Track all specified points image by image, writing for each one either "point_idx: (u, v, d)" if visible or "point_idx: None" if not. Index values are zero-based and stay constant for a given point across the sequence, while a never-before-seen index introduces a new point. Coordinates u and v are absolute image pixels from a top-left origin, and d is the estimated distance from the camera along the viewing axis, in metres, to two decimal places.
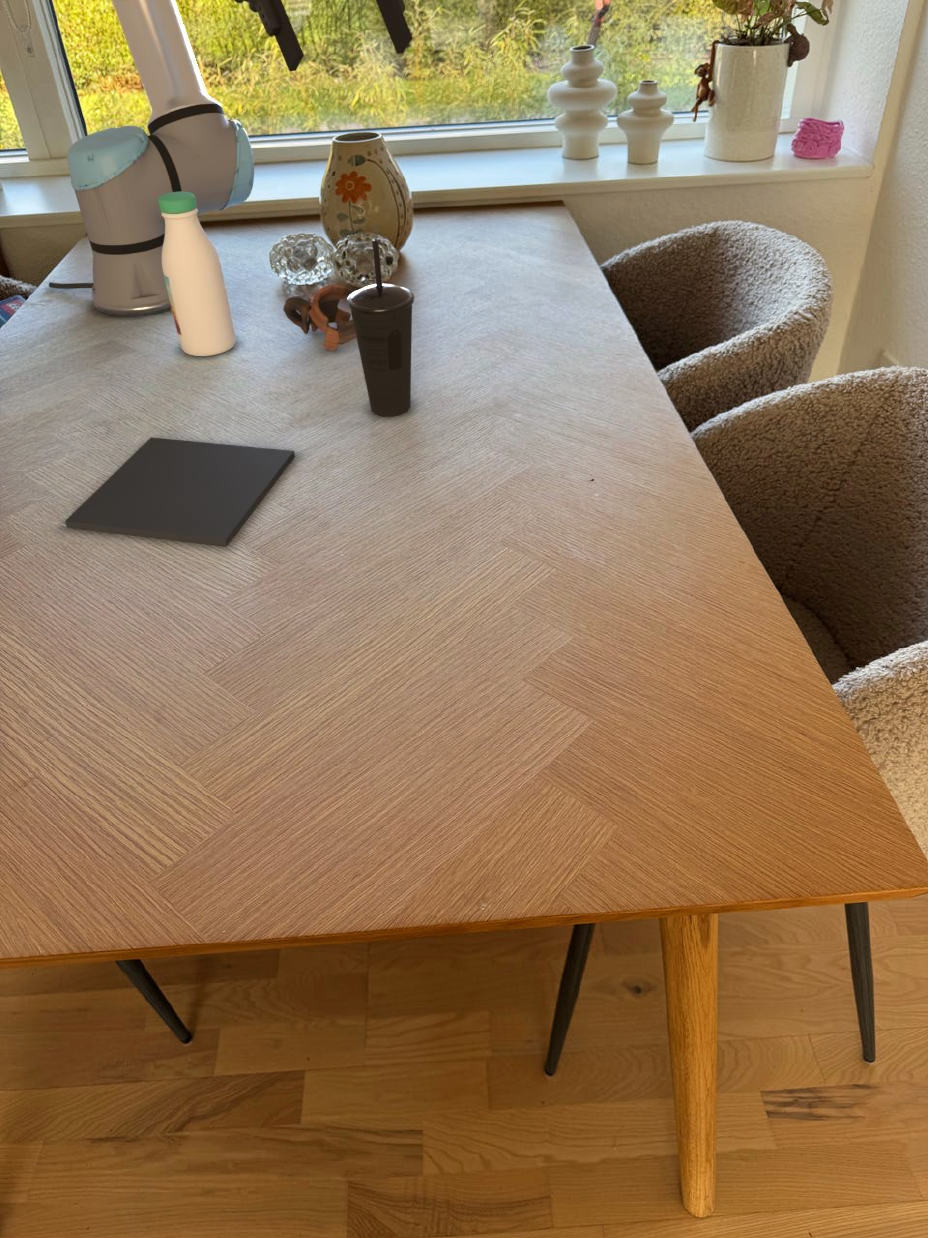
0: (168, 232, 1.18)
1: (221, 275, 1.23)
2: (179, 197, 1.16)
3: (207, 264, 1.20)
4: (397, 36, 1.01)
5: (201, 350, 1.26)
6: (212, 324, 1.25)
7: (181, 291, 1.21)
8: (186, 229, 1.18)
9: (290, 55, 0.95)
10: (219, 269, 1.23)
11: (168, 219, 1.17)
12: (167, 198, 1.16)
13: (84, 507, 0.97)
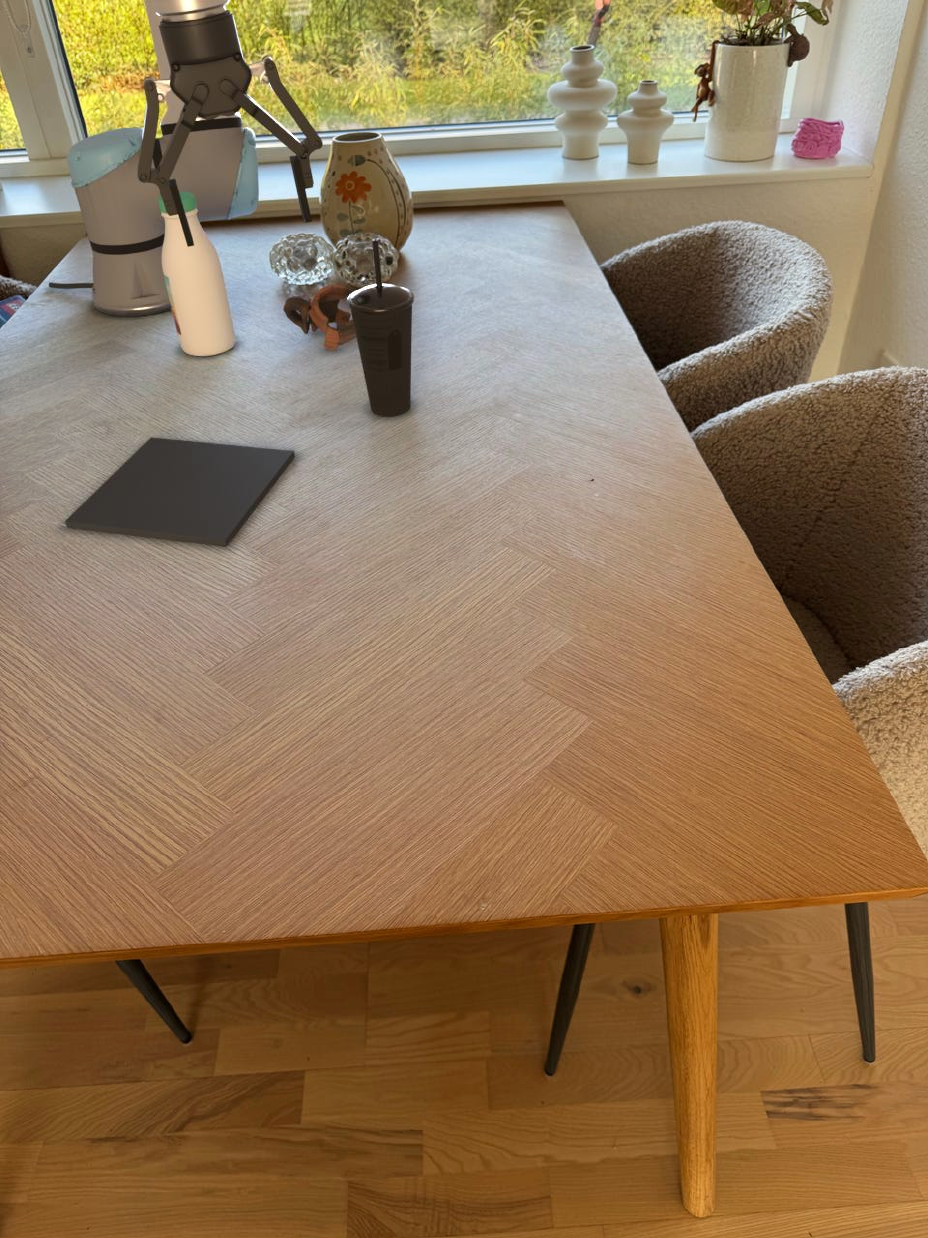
0: (167, 232, 1.18)
1: (221, 275, 1.23)
2: None
3: (207, 264, 1.20)
4: (301, 208, 1.06)
5: (201, 350, 1.26)
6: (212, 323, 1.25)
7: (181, 291, 1.21)
8: None
9: None
10: (219, 269, 1.23)
11: (168, 219, 1.17)
12: None
13: (84, 507, 0.97)
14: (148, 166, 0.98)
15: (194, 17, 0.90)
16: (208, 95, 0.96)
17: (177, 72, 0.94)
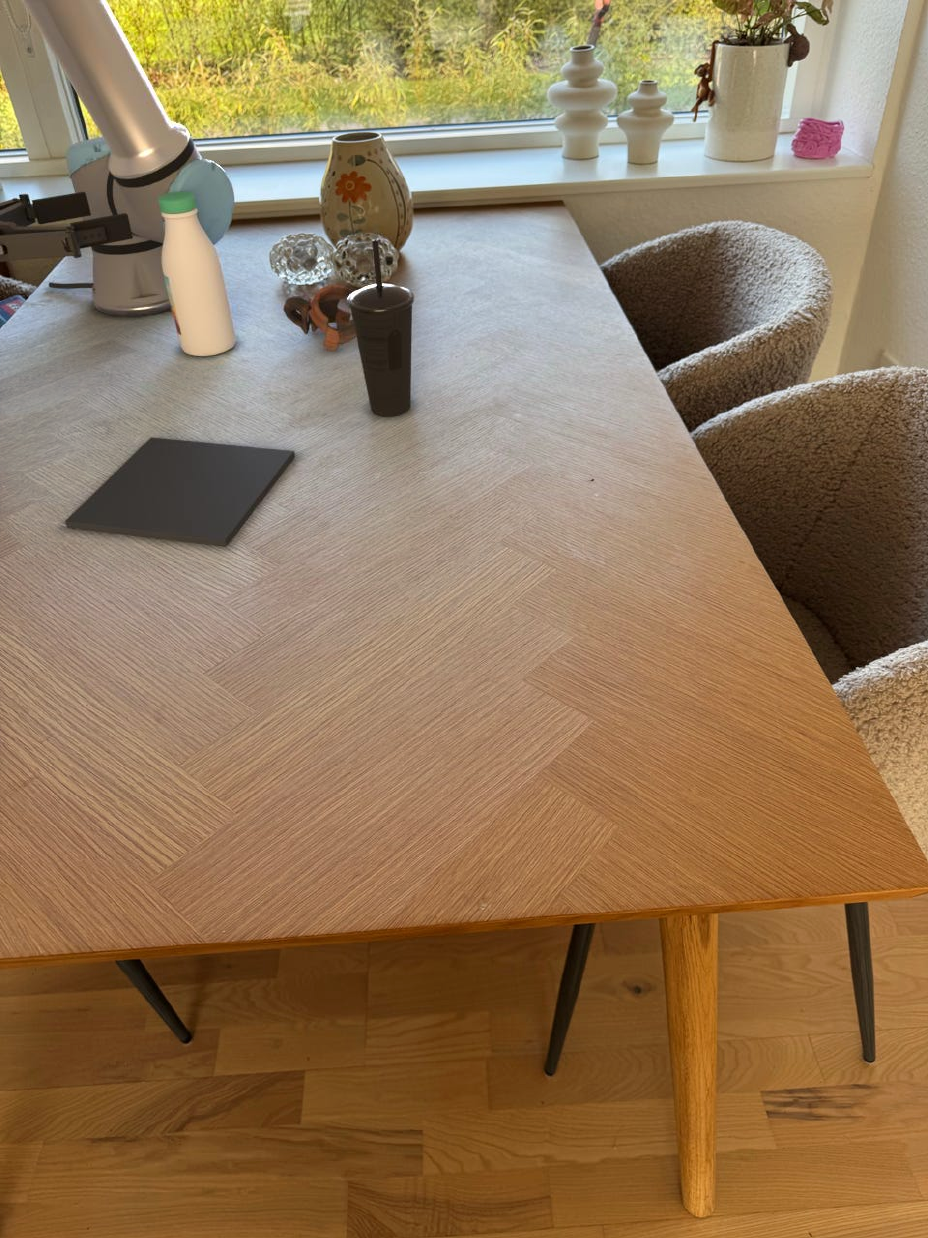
0: (167, 232, 1.18)
1: (221, 275, 1.23)
2: (179, 197, 1.16)
3: (207, 264, 1.20)
4: None
5: (201, 350, 1.26)
6: (212, 324, 1.25)
7: (181, 291, 1.21)
8: (186, 229, 1.18)
9: None
10: (219, 269, 1.23)
11: (168, 219, 1.17)
12: (167, 198, 1.16)
13: (84, 507, 0.97)
14: None
15: None
16: None
17: None
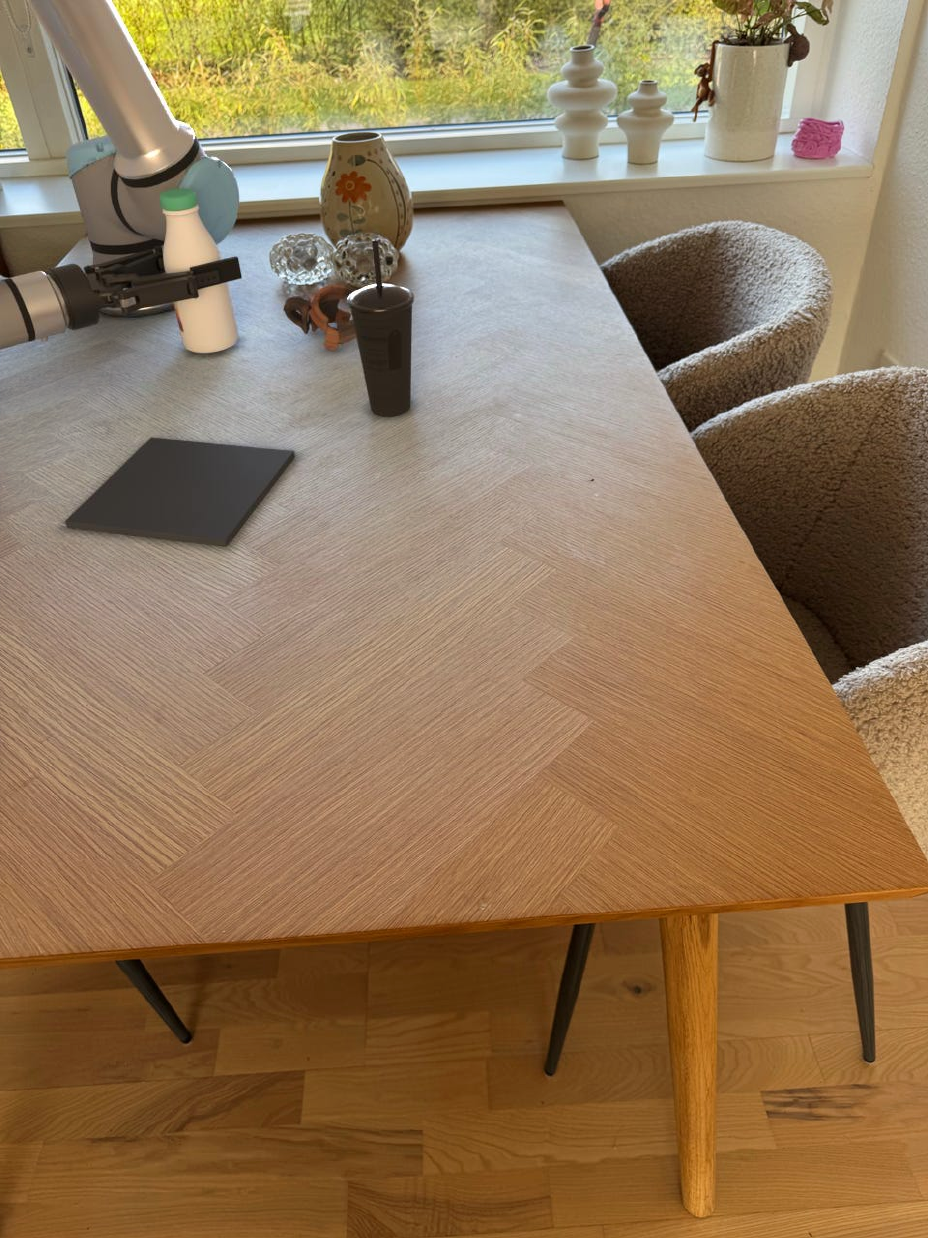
0: (169, 229, 1.18)
1: None
2: (180, 194, 1.16)
3: (209, 261, 1.20)
4: None
5: (204, 347, 1.26)
6: (214, 321, 1.24)
7: None
8: (187, 226, 1.18)
9: None
10: None
11: (169, 216, 1.17)
12: (168, 195, 1.16)
13: (84, 507, 0.97)
14: None
15: None
16: None
17: None
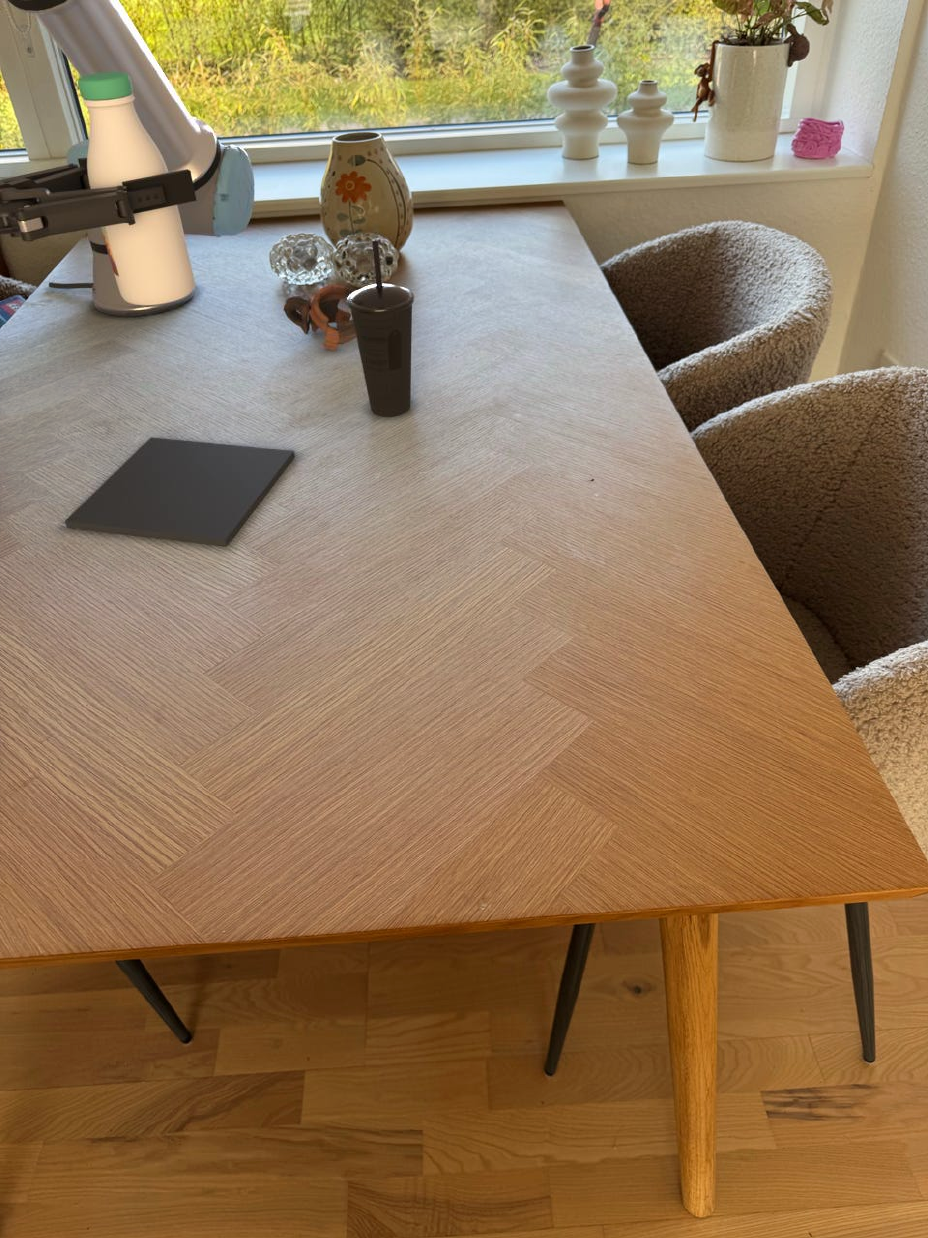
0: (93, 128, 0.85)
1: None
2: (106, 77, 0.83)
3: (149, 174, 0.87)
4: None
5: (146, 297, 0.93)
6: (159, 260, 0.91)
7: None
8: (118, 123, 0.85)
9: None
10: None
11: (92, 109, 0.84)
12: (90, 78, 0.83)
13: (84, 507, 0.97)
14: None
15: None
16: None
17: None
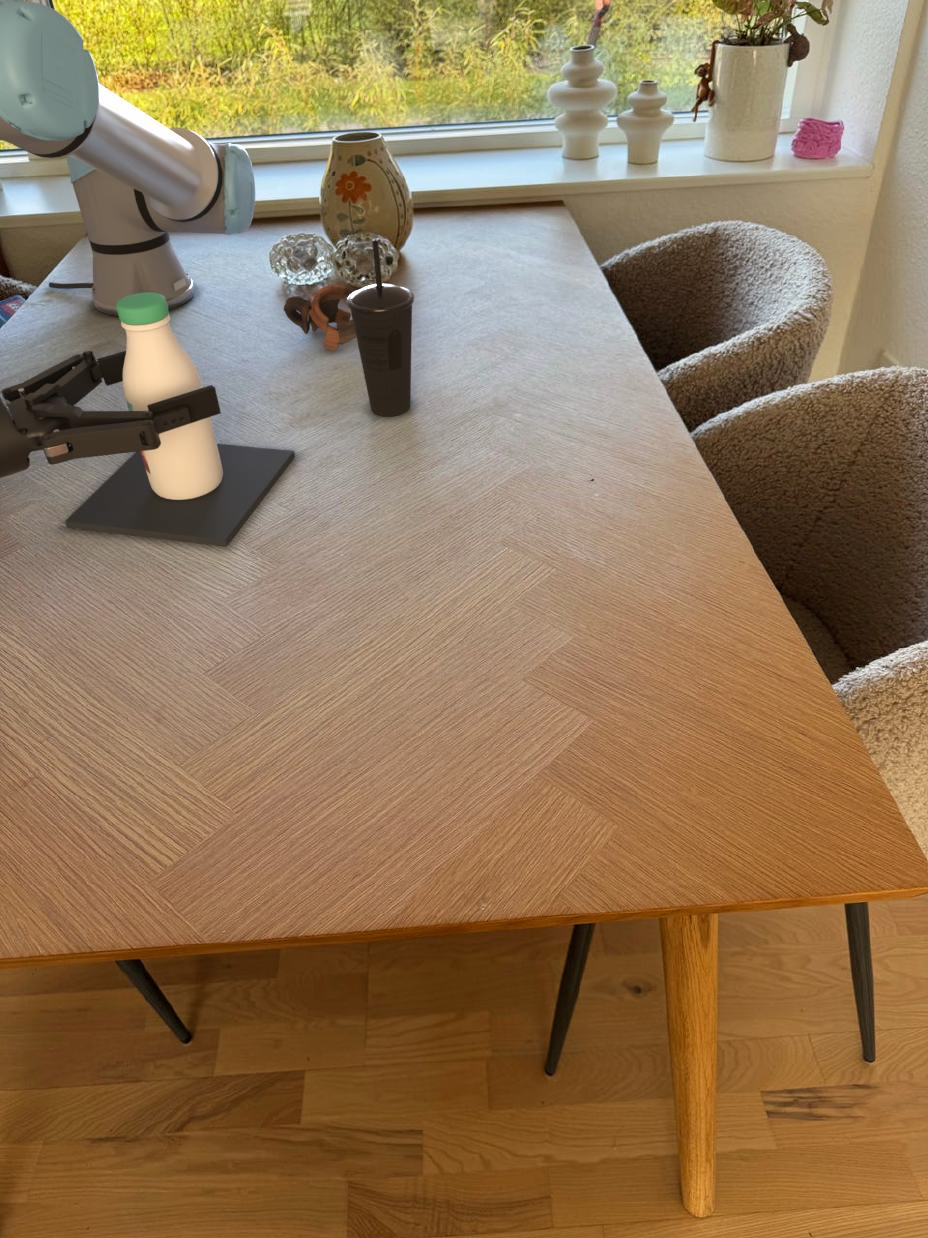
0: (130, 347, 0.88)
1: None
2: (144, 303, 0.86)
3: (183, 388, 0.90)
4: None
5: (177, 493, 0.96)
6: (191, 461, 0.94)
7: None
8: (154, 344, 0.88)
9: None
10: None
11: (130, 331, 0.87)
12: (128, 304, 0.86)
13: (84, 507, 0.97)
14: None
15: None
16: None
17: None
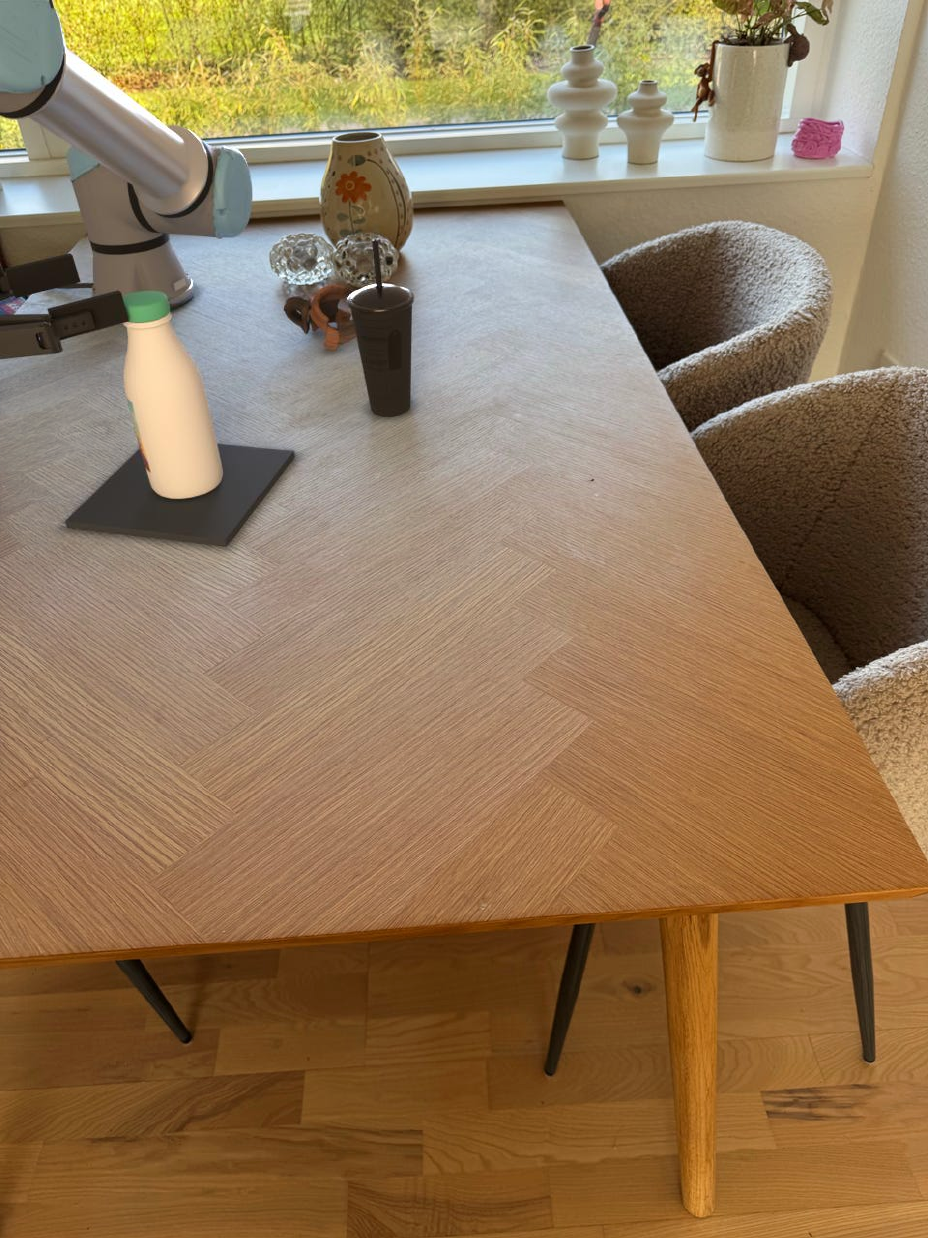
0: (131, 345, 0.88)
1: (203, 397, 0.93)
2: (146, 301, 0.86)
3: (184, 386, 0.90)
4: None
5: (177, 492, 0.96)
6: (191, 460, 0.94)
7: (149, 421, 0.91)
8: (155, 342, 0.88)
9: None
10: (200, 390, 0.92)
11: (131, 329, 0.87)
12: (130, 302, 0.86)
13: (84, 507, 0.97)
14: None
15: None
16: None
17: None
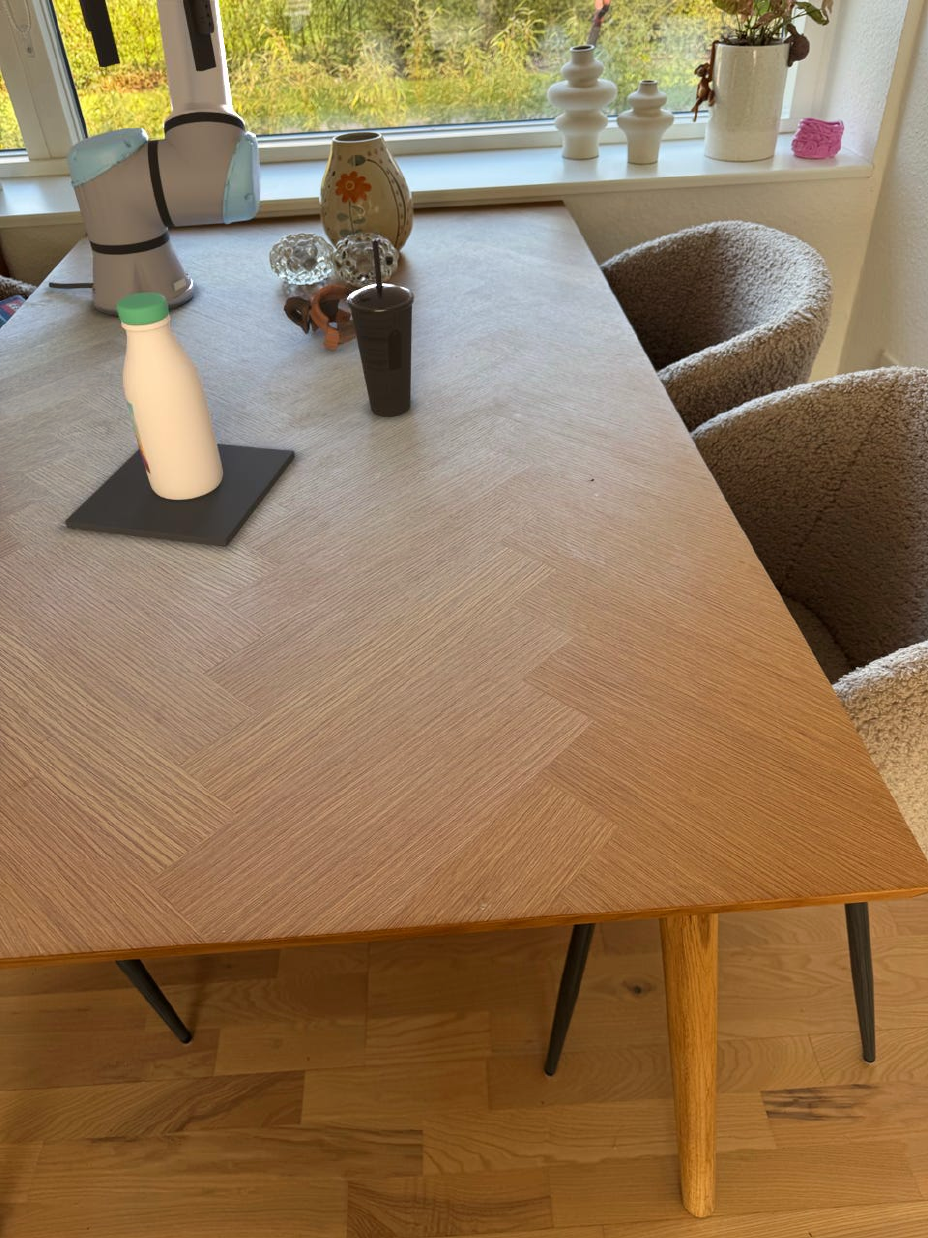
0: (130, 347, 0.88)
1: (203, 398, 0.93)
2: (144, 303, 0.86)
3: (183, 388, 0.90)
4: None
5: (177, 493, 0.96)
6: (191, 461, 0.94)
7: (149, 423, 0.91)
8: (154, 344, 0.88)
9: None
10: (200, 391, 0.92)
11: (130, 331, 0.87)
12: (128, 304, 0.86)
13: (84, 507, 0.97)
14: None
15: None
16: None
17: None
